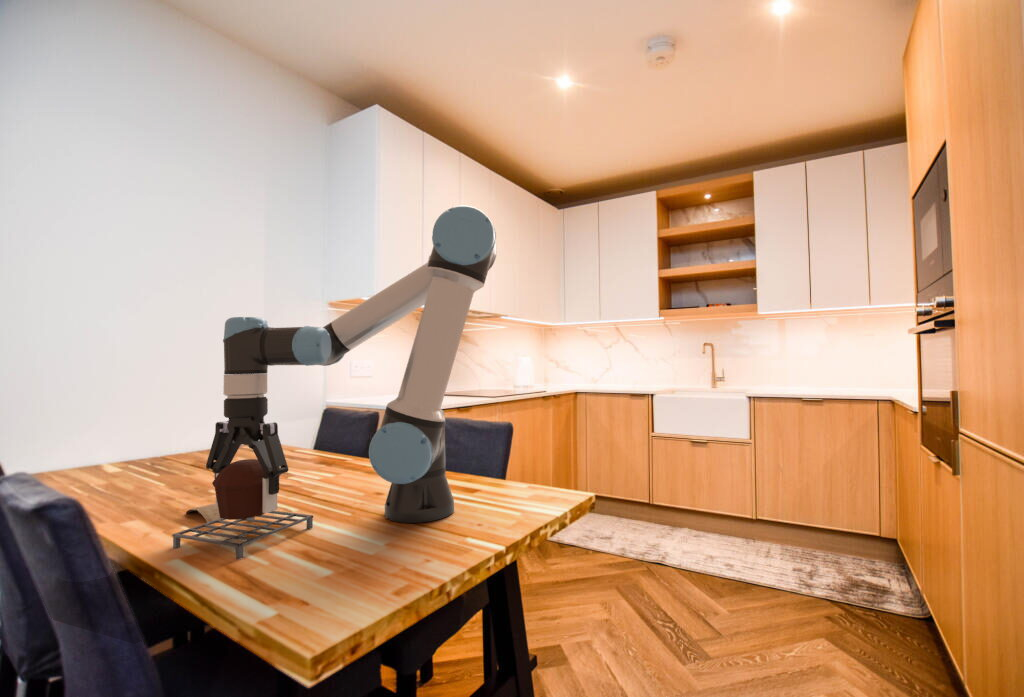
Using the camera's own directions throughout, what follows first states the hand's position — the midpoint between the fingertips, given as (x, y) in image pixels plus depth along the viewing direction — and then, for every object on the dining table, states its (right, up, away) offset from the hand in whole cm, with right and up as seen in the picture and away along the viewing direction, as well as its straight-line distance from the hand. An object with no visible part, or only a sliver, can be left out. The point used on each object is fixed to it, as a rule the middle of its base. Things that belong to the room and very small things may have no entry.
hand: (246, 508), depth 94 cm
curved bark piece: (-15, -7, +16) cm, 23 cm away
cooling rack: (0, -6, 0) cm, 6 cm away
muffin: (0, -1, 0) cm, 1 cm away
